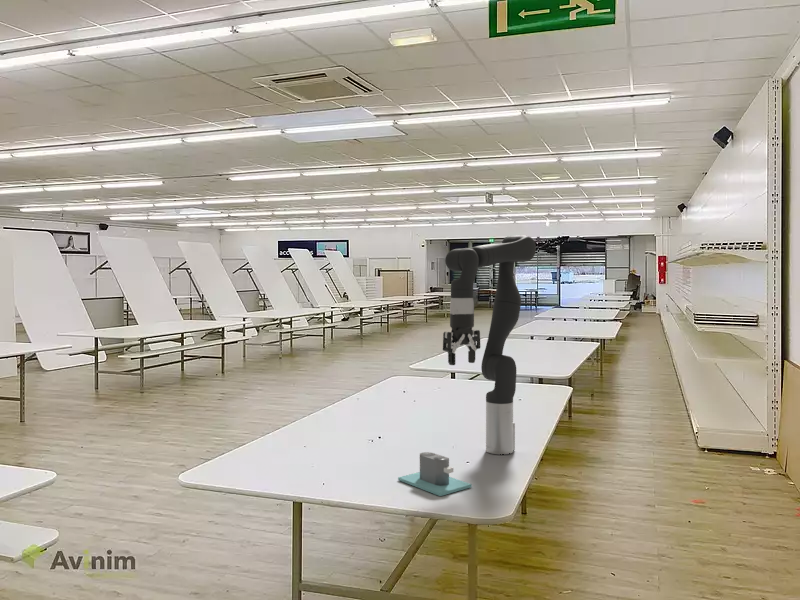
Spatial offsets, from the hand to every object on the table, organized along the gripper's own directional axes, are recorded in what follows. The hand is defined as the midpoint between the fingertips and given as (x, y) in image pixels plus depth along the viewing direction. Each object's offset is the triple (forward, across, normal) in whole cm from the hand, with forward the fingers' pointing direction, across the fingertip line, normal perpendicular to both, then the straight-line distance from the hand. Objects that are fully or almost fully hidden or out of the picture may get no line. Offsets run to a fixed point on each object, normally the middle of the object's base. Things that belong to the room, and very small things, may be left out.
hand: (461, 363), depth 195 cm
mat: (+32, +19, +8) cm, 38 cm away
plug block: (+31, +19, +8) cm, 37 cm away
